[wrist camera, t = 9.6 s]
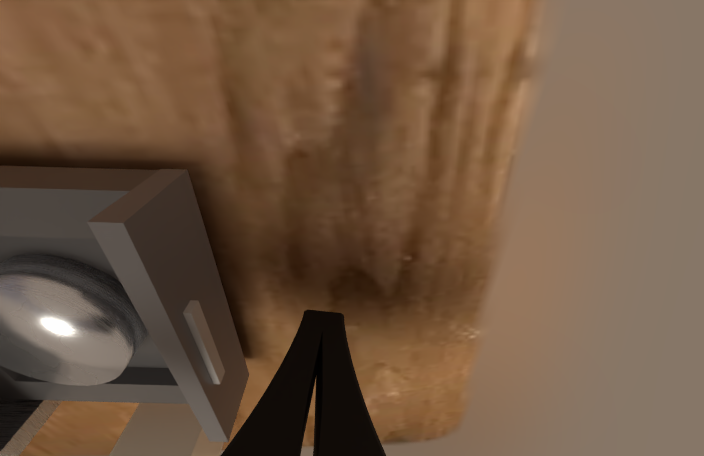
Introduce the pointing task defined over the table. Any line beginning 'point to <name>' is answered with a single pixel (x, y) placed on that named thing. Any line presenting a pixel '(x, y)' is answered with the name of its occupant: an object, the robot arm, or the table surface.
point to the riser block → (164, 433)
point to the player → (22, 422)
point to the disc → (65, 321)
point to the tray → (134, 282)
